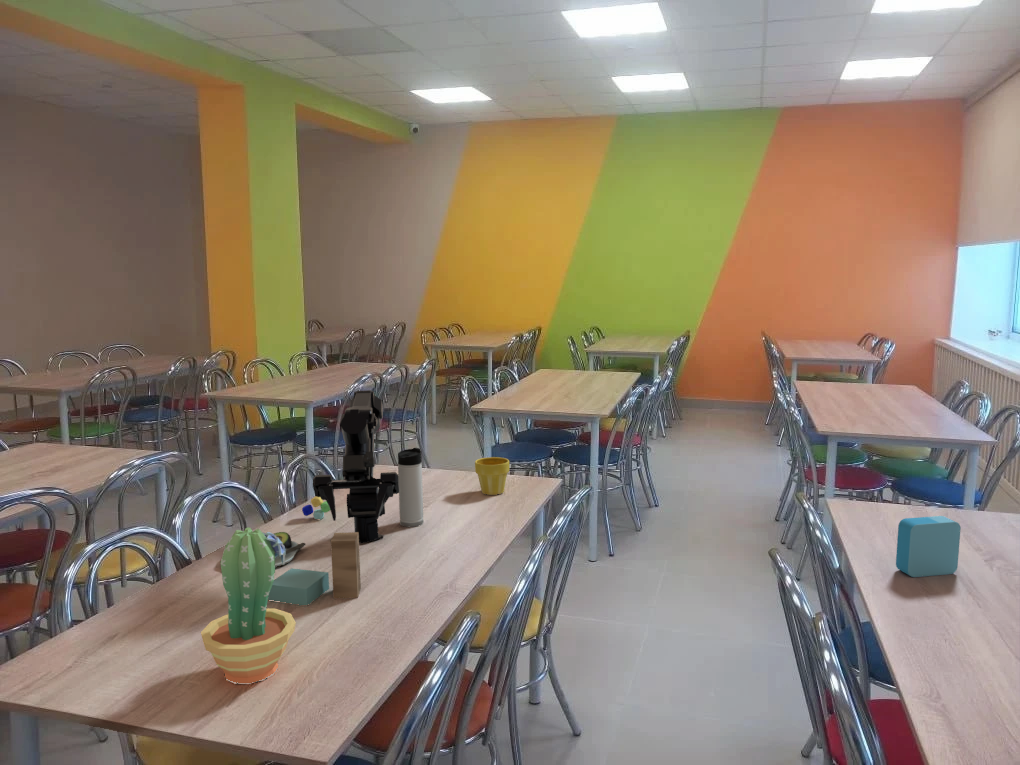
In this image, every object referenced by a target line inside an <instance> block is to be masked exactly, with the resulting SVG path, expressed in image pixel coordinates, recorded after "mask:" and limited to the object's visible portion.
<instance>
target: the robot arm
mask: <svg viewBox="0 0 1020 765" xmlns="http://www.w3.org/2000/svg"><path fill="white" fill-rule="evenodd" d="M374 392H375V391H373V390H369V389H368V390H367V389H366V390H364V389H363V390H356V391H354V393H353V397H352V398H351V399H350V400H349V407H347V408H345V410H344V414H343V413H342V415H341V418H340V421H339V427H340V431H341V433H342V437H343V441H344V444H345V446H344V450H345V451H344V455H343V456H342V472H341V473H342V474H341V475H342V477H343V479H340V480H339V479H338V480H337V479H336V480H333V477H332V474H318V475H317V474H316V475H315V476H314V477H313V479H312V488H313V492H314V495H315V496H317V497H321V499H322V500H323V501H327V503H328V505H329V507H330V513H331V516H332V520H333V521H334V522H336V519H337V512H336V511H337V510H336V498H335V495H334V491H335V490H347V489H348V491H349V493H347V494H346V510H347V519H351V518H353V524H354V532H359V544H366V543H371V542H373V541H378V540H380V539H383V538H384V535H383V534H381V533H379V523H378V522H379V518H380V517H382V516H383V515H385V514H386V509H385V508H386V507H385V505H386V503H387V501H388V500H389V498H393V497H394V495H397V494H399V478H398V472H396V471H391V472H389V471H388V472H380V476H379V477H380V478H375V477H374V467H375V466H376V465H375V464H376V463H375V462H376V460H375V459H376V458H375V452H374V450H375V434H376V433H377V431H378V430H379V429H380V428H381V420H382V419H383V418H384V417H383V416H384V412H383V410H384V409H383V401H382V399H381V398H379V397H378V396H376V395H375V393H374ZM315 496H314V497H315Z"/></svg>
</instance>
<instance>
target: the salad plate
mask: <svg viewBox="0 0 1020 765" xmlns="http://www.w3.org/2000/svg"><path fill="white" fill-rule="evenodd" d="M273 534H274V535H276V537H278V538H279V539H280V541H281V542H282V543H283V545H284V546H285V564H284V565H286V564H288V563H290V562H291V561H292V560H293V559H294V557H295V556H296V555H297V553H298V552H299V551H300V550H301V549H302V548H304V547H305V546H306V543H305V542H300V543H297V542H296V541H293V540H292V537H291V535H290V534H289V533H288V532H286V531H279V532H275V533H273ZM280 565H282V560H281V556H279V555H278V556H277V557H276V558H275V568H278V567H277V566H279V567H281V566H280ZM282 566H283V565H282Z"/></svg>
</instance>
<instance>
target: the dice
mask: <svg viewBox="0 0 1020 765" xmlns="http://www.w3.org/2000/svg"><path fill="white" fill-rule="evenodd" d="M310 503H311V504H307V505H304V506H303V507H302V509H301V510H302V514H303V515H304V517H308V516H310V515H312V514H313V519H314V518H315V520H316V519H320V520H322V518H323V517H324V516H325V513H328V512H331V510H330V507H329V505H328V503H327V501H326V500H322V499H321V497H317V496H314V497H313V498H311V499H310ZM313 507H314V508H318V507H320V508H319V509H314V508H313ZM324 518H325V517H324ZM324 518H323V519H324Z"/></svg>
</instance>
